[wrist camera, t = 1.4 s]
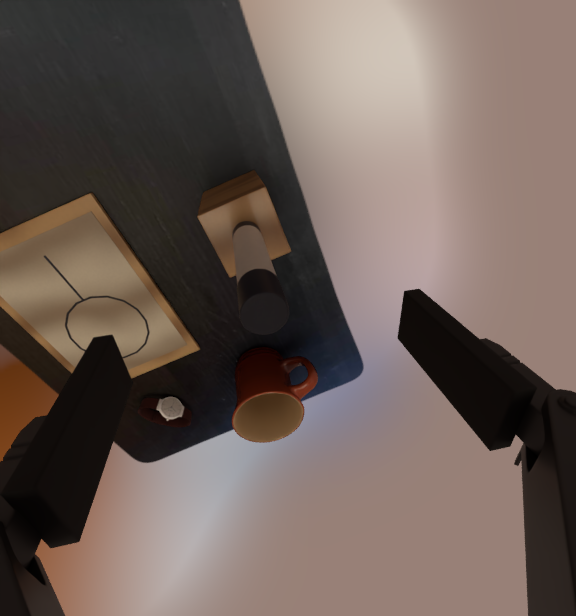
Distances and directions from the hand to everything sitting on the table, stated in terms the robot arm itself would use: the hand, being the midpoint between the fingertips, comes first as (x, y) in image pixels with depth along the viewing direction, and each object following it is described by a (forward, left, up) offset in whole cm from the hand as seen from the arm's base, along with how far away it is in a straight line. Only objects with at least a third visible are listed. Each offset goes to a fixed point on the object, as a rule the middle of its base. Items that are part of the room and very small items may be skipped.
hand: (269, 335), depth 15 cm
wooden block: (0, 0, -25) cm, 25 cm away
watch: (+28, -15, -25) cm, 40 cm away
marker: (0, 0, -15) cm, 15 cm away
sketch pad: (+10, -19, -25) cm, 32 cm away
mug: (+22, +1, -25) cm, 33 cm away
